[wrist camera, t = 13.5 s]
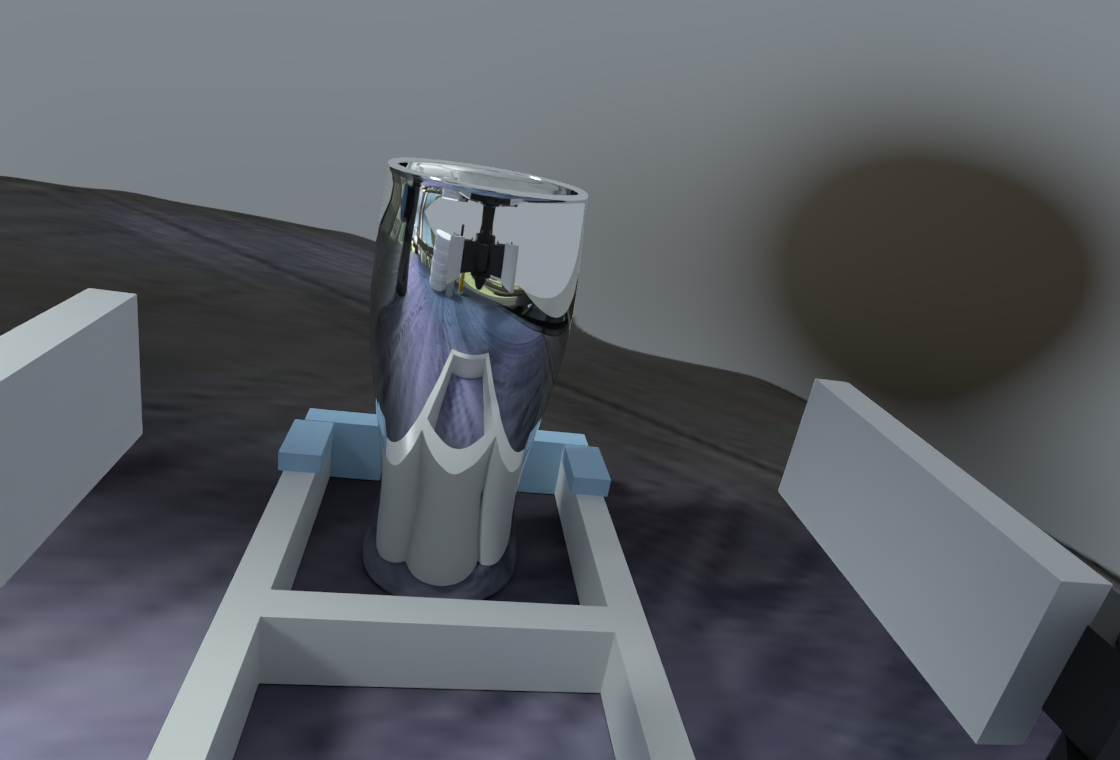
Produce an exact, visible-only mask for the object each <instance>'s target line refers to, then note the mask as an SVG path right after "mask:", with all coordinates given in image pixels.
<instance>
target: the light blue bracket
mask: <svg viewBox="0 0 1120 760" xmlns="http://www.w3.org/2000/svg"><path fill="white" fill-rule="evenodd" d="M331 443H332V449H331V466H330V477H342V478H355V479H367V480H380V461H381V454H380V443H379V431H378V422H377V415H375V414H365V413H354V412H344V411H333V410H323V409H313V408H310V410H309V412H308V414H307V416H306V418H305V420H297V419H295V421H294V422H293V424H292V426H291V428H290V430H289V432H288V434H287V436H286V438H285V440H284V442H283V444H282V446H281V448H280V450H279V452H278V470H282V471H295V472H307V473H321V470H322V467H323V465H324V462H325V459H326V457H327V454H328V451H329V449H330V446H331ZM563 449H564V450H563ZM562 452H563V455H562ZM561 457H562V463H563V467H564V470H565V474H566V478H567V481H568V485H569V489H570V492H571V494H581V495H594V496H606V497H607V496H608V492H609V487H610V483H611V479H610V476H609V474H608V471H607V469H606V466H605V463H604V461H603V458H602V456H601V453H600V450H599V448H598V447H588V443H587V441H586V438H585V435H583V434H573V433H563V432H552V431H542V430H537V433H536V435H535V438H534V441H533V443H532V446H531V448H530V451H529V454H528V457H527V460H526V463H525V465H524V468H523V471H522V475H521V479H520V483H519V487H518V492H530V493H543V494H555V489H556V484H557V479H558V473H559V468H560V463H561Z"/></svg>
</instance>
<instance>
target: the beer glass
mask: <svg viewBox="0 0 1120 760" xmlns="http://www.w3.org/2000/svg"><path fill="white" fill-rule="evenodd" d="M587 199H588V194H587V193H586V192H585V191H584V190H582V189H579V188H577V187H574V186H571V185H568V184H565V183H562V182H558V181H554V180H550V179H547V178H542V177H538V176H534V175H529V174H524V173H519V172H515V171H509V170H504V169H498V168H493V167H487V166H480V165H475V164H467V163H461V162H453V161H445V160H435V159H423V158H394V159H390V160H389V161H388V172H387V179H386V186H385V192H384V198H383V204H382V210H381V215H380V221H379V227H378V234H377V240H376V247H375V254H374V263H373V272H372V281H371V297H370V320H369V329H370V349H371V366H372V376H373V386H374V396H375V405H376V413H377V422H378V431H379V443H380V454H381V461H380V481H379V488H378V494H377V498H376V503H375V506H374V510H373V513H372V516H371V519H370V522H369V525H368V529H367V532H366V535H365V539H364V543H363V549H362V557H363V563H364V566H365V569H366V571H367V573H368V574H369V576H370V577H371V578H372V580H373V581H374V582H375V583H377V584H378V585H379V586H380V587H381V588H383V589H384V590H386V591H387V592H389V593H391V594H393V595H395V596H407V597H426V598H446V599H465V600H482V599H485V598H487V597H489V596H491V595H493V594H495V593H496V592H498V591H499V590H500V589H502V588H503V587H504V586H505V585H506V584H507V582H508V581H509V580H510V578H511V576H512V574H513V571H514V568H515V564H516V528H515V508H516V499H517V492H518V487H519V483H520V479H521V475H522V471H523V468H524V465H525V463H526V460H527V457H528V454H529V451H530V448H531V446H532V443H533V441H534V438H535V435H536V433H537V430H538V428H539V425H540V423H541V420H542V417H543V415H544V412H545V409H546V406H547V404H548V401H549V398H550V396H551V393H552V390H553V388H554V385H555V381H556V378H557V375H558V372H559V369H560V366H561V362H562V359H563V356H564V353H565V349H566V344H567V340H568V335H569V331H570V326H571V322H572V317H573V311H574V304H575V298H576V291H577V285H578V277H579V267H580V259H581V250H582V239H583V228H584V218H585V208H586V202H587Z"/></svg>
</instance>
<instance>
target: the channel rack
mask: <svg viewBox="0 0 1120 760" xmlns="http://www.w3.org/2000/svg"><path fill="white" fill-rule="evenodd" d="M331 449H332V443H331V446H330V449H329V451H328V454H327V457H326V459H325V462H324V465H323V467H322V470H321V473H307V472H295V471H283V473H282V475H281V477H280V479H279V481H278V484H277V486H276V488H275V490H274V492H273V494H272V496H271V498H270V501H269V503H268V505H267V507H266V509H265V511H264V513H263V515H262V517H261V520H260V522H259V524H258V526H257V528H256V530H255V532H254V534H253V537H252V539H251V541H250V543H249V545H248V547H247V549H246V551H245V554H244V556H243V558H242V560H241V562H240V564H239V566H238V568H237V570H236V573H235V575H234V577H233V579H232V581H231V583H230V585H229V587H228V590H227V592H226V594H225V596H224V598H223V600H222V602H221V604H220V607H219V609H218V611H217V613H216V615H215V617H214V619H213V621H212V623H211V626H210V628H209V630H208V632H207V634H206V636H205V638H204V640H203V643H202V645H201V647H200V649H199V651H198V653H197V655H196V657H195V660H194V662H193V664H192V666H191V668H190V670H189V672H188V674H187V676H186V679H185V681H184V683H183V685H182V687H181V689H180V691H179V693H178V696H177V698H176V700H175V702H174V704H173V706H172V708H171V710H170V713H169V715H168V717H167V719H166V721H165V723H164V725H163V727H162V729H161V732H160V734H159V736H158V738H157V740H156V742H155V744H154V746H153V749H152V751H151V753H150V755H149V757H148V759H147V760H233V757H234V754H235V751H236V748H237V745H238V742H239V740H240V737H241V734H242V731H243V728H244V725H245V722H246V719H247V716H248V713H249V710H250V708H251V705H252V702H253V699H254V696H255V693H256V690H257V687H258V684H259V683H263V684H299V685H334V686H369V687H405V688H440V689H475V690H511V691H546V692H581V693H600V694H601V698H602V702H603V707H604V711H605V715H606V720H607V724H608V728H609V733H610V737H611V741H612V746H613V750H614V754H615V759H616V760H696V759H695V757H694V754H693V751H692V748H691V745H690V742H689V739H688V737H687V734H686V731H685V728H684V725H683V722H682V720H681V717H680V714H679V711H678V708H677V705H676V702H675V700H674V697H673V694H672V691H671V688H670V685H669V682H668V680H667V677H666V674H665V671H664V668H663V665H662V662H661V660H660V657H659V654H658V651H657V648H656V645H655V642H654V640H653V637H652V634H651V631H650V628H649V625H648V623H647V620H646V617H645V614H644V611H643V608H642V605H641V603H640V600H639V597H638V594H637V591H636V588H635V585H634V583H633V580H632V577H631V574H630V571H629V568H628V565H627V563H626V560H625V557H624V554H623V551H622V548H621V545H620V543H619V540H618V537H617V534H616V531H615V528H614V526H613V523H612V520H611V517H610V514H609V511H608V508H607V506H606V503H605V500H604V497H603V496H594V495H581V494H571V492H570V489H569V485H568V481H567V478H566V474H565V470H564V467H563V463H562V457H561V463H560V468H559V473H558V479H557V484H556V489H555V499H556V503H557V507H558V512H559V516H560V520H561V525H562V529H563V533H564V538H565V542H566V546H567V551H568V555H569V559H570V564H571V568H572V572H573V577H574V581H575V585H576V590H577V594H578V598H579V603H580V605H563V604H544V603H524V602H504V601H485V600H465V599H446V598H426V597H407V596H387V595H368V594H348V593H328V592H309V591H291V588H292V585H293V582H294V580H295V577H296V574H297V571H298V568H299V565H300V562H301V559H302V556H303V553H304V550H305V548H306V545H307V542H308V539H309V536H310V533H311V530H312V527H313V524H314V521H315V518H316V516H317V513H318V510H319V507H320V504H321V501H322V498H323V495H324V492H325V489H326V486H327V484H328V481H329V478H330V466H331ZM563 450H564V449H563ZM562 455H563V452H562Z"/></svg>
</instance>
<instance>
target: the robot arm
mask: <svg viewBox="0 0 1120 760" xmlns="http://www.w3.org/2000/svg"><path fill="white" fill-rule="evenodd" d="M142 434H143V431H142V408H141V384H140V361H139V338H138V315H137V294H132V293H124V292H116V291H108V290H99V289H91V288H88V289H86V290H84V291H83V292H81V293H79V294H77V295H75V296H73V297H72V298H70V299H68V300H66V301H64V302H62V303H60V304H59V305H57V306H55V307H53V308H51V309H49V310H48V311H46V312H44V313H42V314H40V315H38V316H37V317H35V318H33V319H31V320H29V321H27V322H25V323H24V324H22V325H20V326H18V327H16V328H14V329H13V330H11V331H9V332H7V333H5V334H3V335H1V336H0V589H1V588H2V587H3V586H4V584H5V583H6V582H7V581H8V580H9V579H10V578H11V577H12V576H13V575H14V574H15V572H16V571H17V570H18V569H19V568H20V567H21V566H22V565H23V564H24V563H25V562H26V560H27V559H28V558H29V557H30V556H31V555H32V554H33V553H34V552H35V551H36V550H37V548H38V547H39V546H40V545H41V544H42V543H43V542H44V541H45V540H46V539H47V538H48V536H49V535H50V534H51V533H52V532H53V531H54V530H55V529H56V528H57V527H58V526H59V524H60V523H61V522H62V521H63V520H64V519H65V518H66V517H67V516H68V515H69V514H70V512H71V511H72V510H73V509H74V508H75V507H76V506H77V505H78V504H79V503H80V501H81V500H82V499H83V498H84V497H85V496H86V495H87V494H88V493H89V492H90V491H91V489H92V488H93V487H94V486H95V485H96V484H97V483H98V482H99V481H100V480H101V479H102V477H103V476H104V475H105V474H106V473H107V472H108V471H109V470H110V469H111V468H112V467H113V465H114V464H115V463H116V462H117V461H118V460H119V459H120V458H121V457H122V456H123V455H124V453H125V452H126V451H127V450H128V449H129V448H130V447H131V446H132V445H133V444H134V443H135V441H136V440H137V439H138V438H139V437H140V436H141V435H142ZM778 492H779V493H780V495H781V496H782V497H783V498H784V500H785V501H786V502H787V503H788V505H789V506H790V507H791V509H792V510H793V511H794V512H795V514H796V515H797V516H798V517H799V519H800V520H801V521H802V523H803V524H804V525H805V526H806V528H807V529H808V530H809V532H810V533H811V534H812V535H813V537H814V538H815V539H816V540H817V542H818V543H819V544H820V546H821V547H822V548H823V549H824V551H825V552H826V553H827V554H828V556H829V557H830V558H831V560H832V561H833V562H834V563H835V565H836V566H837V567H838V569H839V570H840V571H841V572H842V574H843V575H844V576H845V577H846V579H847V580H848V581H849V583H850V584H851V585H852V586H853V588H854V589H855V590H856V591H857V593H858V594H859V595H860V597H861V598H862V599H863V600H864V602H865V603H866V604H867V606H868V607H869V608H870V609H871V611H872V612H873V613H874V614H875V616H876V617H877V618H878V620H879V621H880V622H881V623H882V625H883V626H884V627H885V628H886V630H887V631H888V632H889V634H890V635H891V636H892V637H893V639H894V640H895V641H896V642H897V644H898V645H899V646H900V648H901V649H902V650H903V651H904V653H905V654H906V655H907V657H908V658H909V659H910V660H911V662H912V663H913V664H914V665H915V667H916V668H917V669H918V671H919V672H920V673H921V674H922V676H923V677H924V678H925V679H926V681H927V682H928V683H929V685H930V686H931V687H932V688H933V690H934V691H935V692H936V694H937V695H938V696H939V697H940V699H941V700H942V701H943V702H944V704H945V705H946V706H947V708H948V709H949V710H950V711H951V713H952V714H953V715H954V716H955V718H956V719H957V720H958V722H959V723H960V724H961V725H962V727H963V728H964V729H965V731H966V732H967V733H968V734H969V736H970V737H971V738H972V739H973V741H974V742H975V743H976V744H998V745H1024V743H1025V742H1026V740H1027V738H1028V736H1029V734H1030V733H1031V731H1032V729H1033V727H1034V725H1035V724H1036V722H1037V720H1038V718H1039V716H1040V715H1041V713H1042V711H1044V712H1045V713H1046V714H1047V715H1048V716H1049V717H1050V718H1051V719H1052V720H1053V721H1054V722H1055V723H1056V725H1057V726H1058V727H1059V728H1060V729H1061V730H1062V732H1061V734H1060V736H1059V738H1058V739H1057V741H1056V743H1055V744H1054V746H1053V748H1052V750H1051V751H1050V753H1049V755H1048V757H1047V758H1046V760H1120V595H1119V594H1118V593H1117V592H1116V591H1114V590H1113V589H1112V588H1111V587H1112V584H1111V583H1110V582H1109V581H1107V580H1106V579H1105V578H1103V577H1102V576H1101V575H1099V574H1098V573H1097V572H1095V571H1094V570H1093V569H1092V568H1090V567H1089V566H1088V565H1086V564H1085V563H1084V562H1082V561H1081V560H1080V559H1078V558H1077V557H1076V556H1074V555H1073V554H1072V553H1071V552H1069V551H1068V550H1067V549H1065V548H1064V547H1063V546H1061V545H1060V544H1059V543H1057V542H1056V541H1055V540H1054V539H1052V538H1051V537H1050V536H1048V535H1047V534H1046V533H1044V532H1043V531H1042V530H1040V529H1039V528H1038V527H1037V526H1035V525H1034V524H1033V523H1031V522H1030V521H1029V520H1027V519H1026V518H1025V517H1023V516H1022V515H1021V514H1019V513H1018V512H1017V511H1016V510H1014V509H1013V508H1012V507H1010V506H1009V505H1007V504H1006V503H1005V502H1004V501H1002V500H1001V499H1000V498H999V497H997V496H996V495H995V494H993V493H992V492H991V491H989V490H988V489H987V488H985V487H984V486H982V485H981V484H980V483H979V482H978V481H976V480H975V479H974V478H972V477H971V476H969V475H968V474H967V473H966V472H964V471H963V470H962V469H960V468H959V467H958V466H956V465H955V464H954V463H953V462H951V461H950V460H949V459H947V458H946V457H945V456H944V455H942V454H941V453H939V452H938V451H937V450H936V449H934V448H933V447H932V446H930V445H929V444H928V443H927V442H925V441H924V440H923V439H921V438H920V437H919V436H917V435H916V434H915V433H913V432H912V431H911V430H910V429H908V428H907V427H906V426H904V425H903V424H902V423H900V422H899V421H898V420H896V419H895V418H894V417H893V416H891V415H890V414H889V413H887V412H886V411H885V410H883V409H882V408H881V407H879V406H878V405H877V404H876V403H874V402H873V401H871V400H870V399H869V398H868V397H866V396H865V395H864V394H862V393H861V392H860V391H859V390H857V389H856V388H855V387H853V386H852V385H851V384H849V383H848V382H840V381H832V380H824V379H815V381H814V384H813V387H812V390H811V393H810V396H809V399H808V402H807V405H806V408H805V411H804V414H803V417H802V420H801V423H800V426H799V429H798V432H797V435H796V438H795V441H794V444H793V447H792V450H791V453H790V457H789V460H788V463H787V466H786V469H785V472H784V475H783V478H782V481H781V484H780V487H779V490H778Z"/></svg>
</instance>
